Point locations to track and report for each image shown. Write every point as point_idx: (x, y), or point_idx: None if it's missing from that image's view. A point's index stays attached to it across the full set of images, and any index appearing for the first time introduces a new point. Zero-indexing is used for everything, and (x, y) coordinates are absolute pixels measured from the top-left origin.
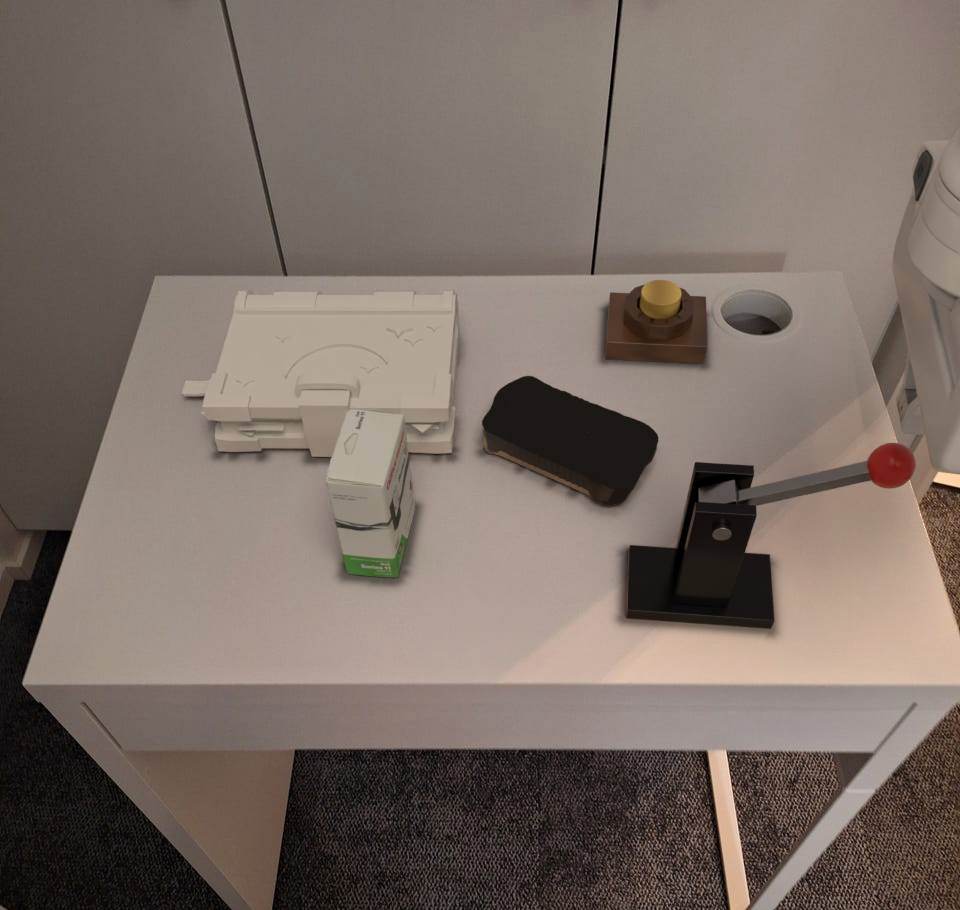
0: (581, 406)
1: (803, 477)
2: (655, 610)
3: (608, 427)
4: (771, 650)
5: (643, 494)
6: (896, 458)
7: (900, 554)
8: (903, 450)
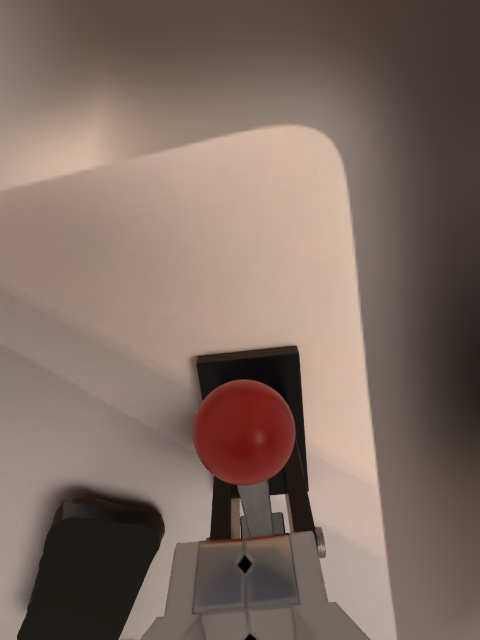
0: (45, 591)
1: (249, 514)
2: (305, 468)
3: (68, 563)
4: (326, 343)
5: (130, 485)
6: (269, 462)
7: (138, 189)
8: (244, 453)
